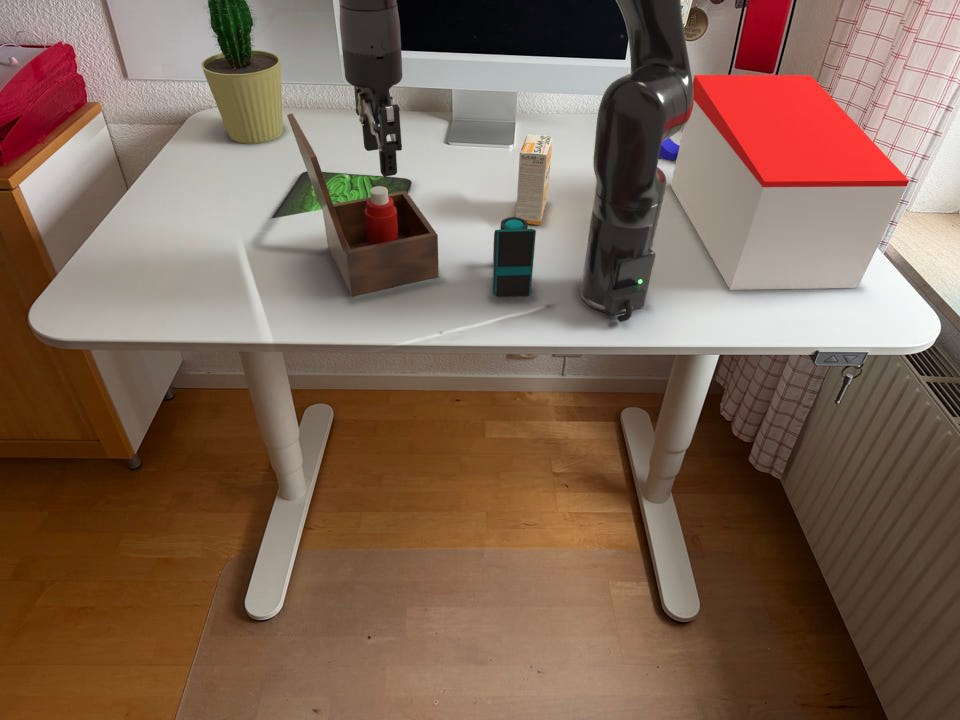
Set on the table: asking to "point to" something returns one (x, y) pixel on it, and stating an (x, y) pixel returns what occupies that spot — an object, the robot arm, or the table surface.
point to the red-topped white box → (782, 183)
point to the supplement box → (533, 177)
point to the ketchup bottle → (380, 217)
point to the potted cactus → (243, 76)
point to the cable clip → (669, 150)
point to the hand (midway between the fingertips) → (380, 161)
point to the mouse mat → (336, 190)
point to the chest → (384, 248)
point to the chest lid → (317, 181)
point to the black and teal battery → (513, 258)
